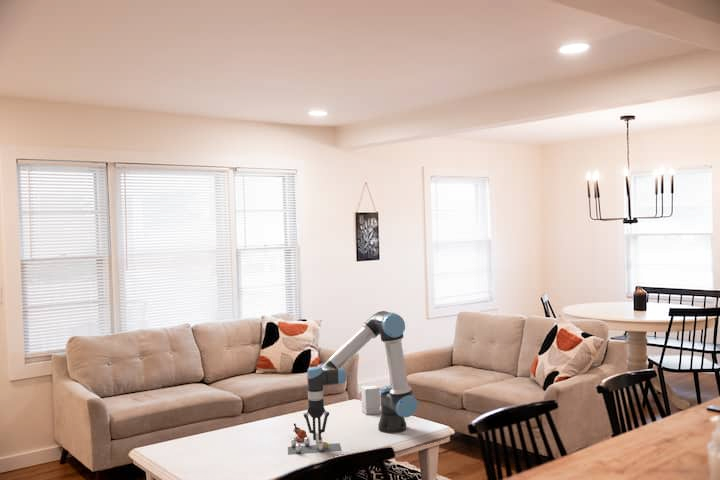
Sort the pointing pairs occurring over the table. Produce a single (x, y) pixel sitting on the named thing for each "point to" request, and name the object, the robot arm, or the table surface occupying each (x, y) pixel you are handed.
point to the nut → (325, 445)
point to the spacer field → (306, 440)
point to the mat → (315, 449)
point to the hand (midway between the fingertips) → (317, 446)
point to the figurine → (299, 433)
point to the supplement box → (370, 399)
